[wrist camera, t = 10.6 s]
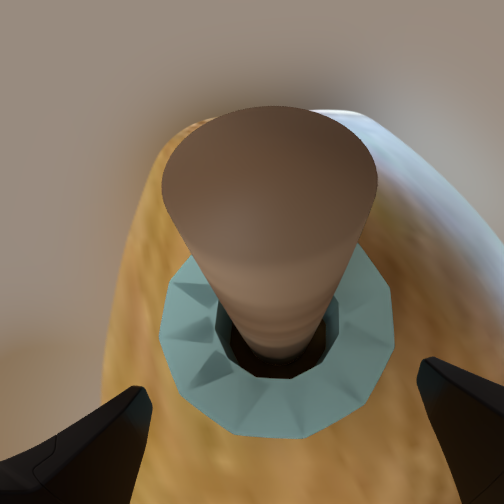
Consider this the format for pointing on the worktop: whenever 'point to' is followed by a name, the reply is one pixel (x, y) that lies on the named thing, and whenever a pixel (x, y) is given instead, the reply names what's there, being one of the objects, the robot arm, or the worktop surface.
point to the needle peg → (271, 217)
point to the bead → (269, 389)
